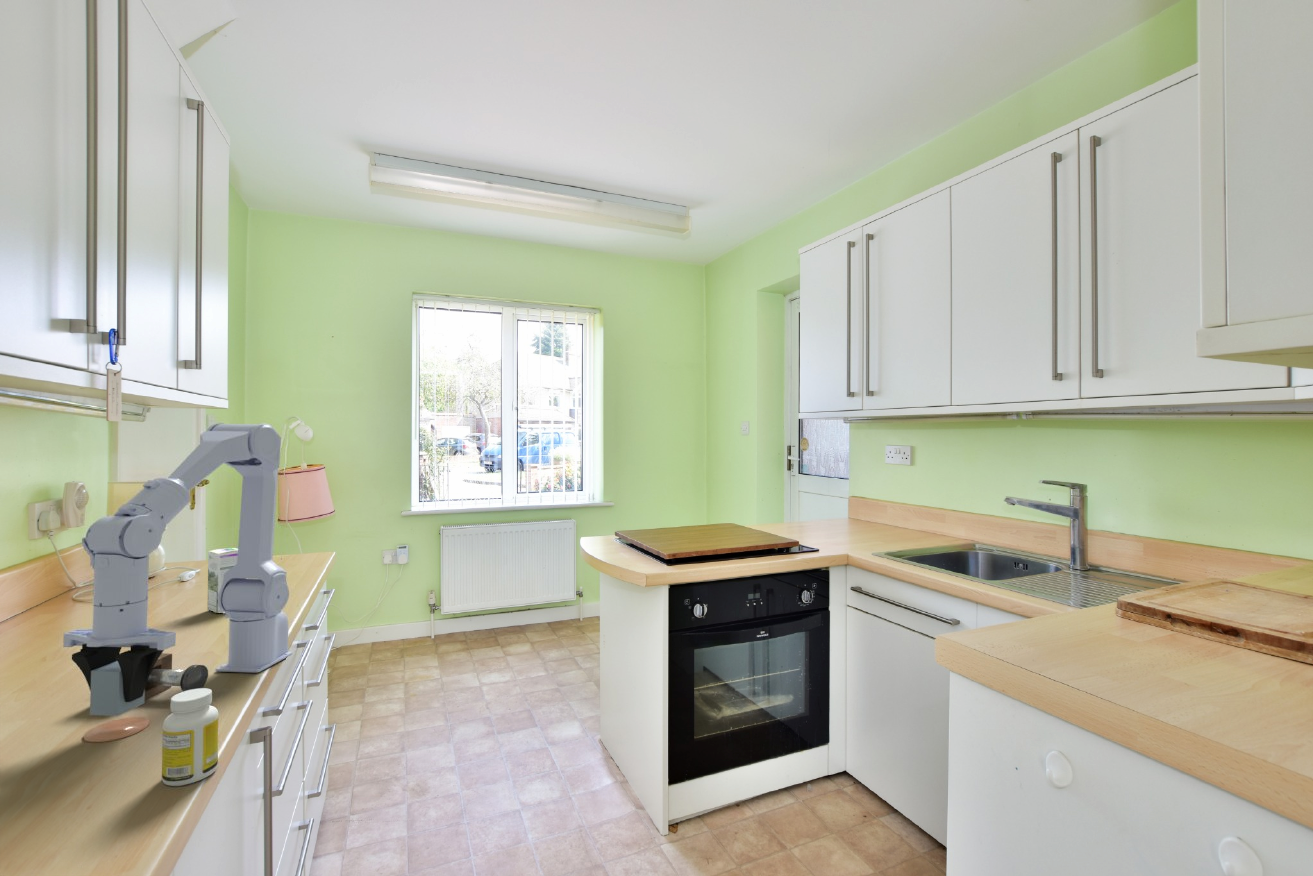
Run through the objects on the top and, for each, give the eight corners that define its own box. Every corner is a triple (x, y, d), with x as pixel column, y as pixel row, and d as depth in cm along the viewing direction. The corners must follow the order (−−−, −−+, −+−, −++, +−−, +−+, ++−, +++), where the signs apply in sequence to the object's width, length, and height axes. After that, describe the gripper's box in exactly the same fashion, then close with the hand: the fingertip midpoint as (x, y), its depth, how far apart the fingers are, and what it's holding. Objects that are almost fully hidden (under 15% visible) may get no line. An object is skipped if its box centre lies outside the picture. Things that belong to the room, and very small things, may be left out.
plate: (117, 718, 87) (117, 716, 87) (161, 719, 86) (162, 717, 86) (69, 741, 80) (69, 739, 80) (117, 743, 80) (117, 741, 80)
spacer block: (117, 702, 85) (118, 660, 85) (144, 703, 85) (145, 661, 85) (89, 714, 81) (91, 670, 81) (118, 715, 81) (119, 671, 81)
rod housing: (136, 685, 98) (137, 652, 98) (171, 687, 98) (172, 653, 98) (94, 704, 91) (95, 668, 91) (132, 705, 91) (133, 669, 91)
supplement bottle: (210, 758, 76) (212, 682, 76) (223, 773, 73) (225, 693, 73) (156, 776, 72) (158, 695, 72) (167, 793, 69) (169, 708, 69)
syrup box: (244, 609, 143) (246, 549, 143) (216, 615, 138) (218, 552, 138) (233, 605, 146) (235, 546, 146) (205, 611, 141) (207, 550, 141)
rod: (157, 684, 96) (158, 659, 96) (207, 686, 96) (208, 661, 96) (135, 694, 92) (135, 669, 92) (187, 696, 92) (188, 670, 92)
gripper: (41, 607, 80) (37, 709, 79) (145, 610, 79) (142, 713, 79) (92, 594, 87) (90, 688, 87) (189, 597, 86) (186, 691, 86)
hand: (118, 698), depth 83 cm, fingers closed on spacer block, 4 cm apart
